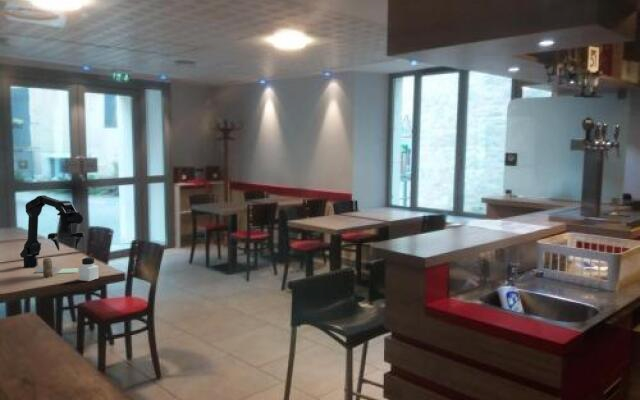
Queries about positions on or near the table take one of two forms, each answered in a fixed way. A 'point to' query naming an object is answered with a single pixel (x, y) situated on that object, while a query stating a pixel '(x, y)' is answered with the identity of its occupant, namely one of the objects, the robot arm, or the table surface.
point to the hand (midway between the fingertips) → (67, 250)
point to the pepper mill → (47, 267)
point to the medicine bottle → (88, 270)
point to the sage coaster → (68, 271)
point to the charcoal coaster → (42, 270)
